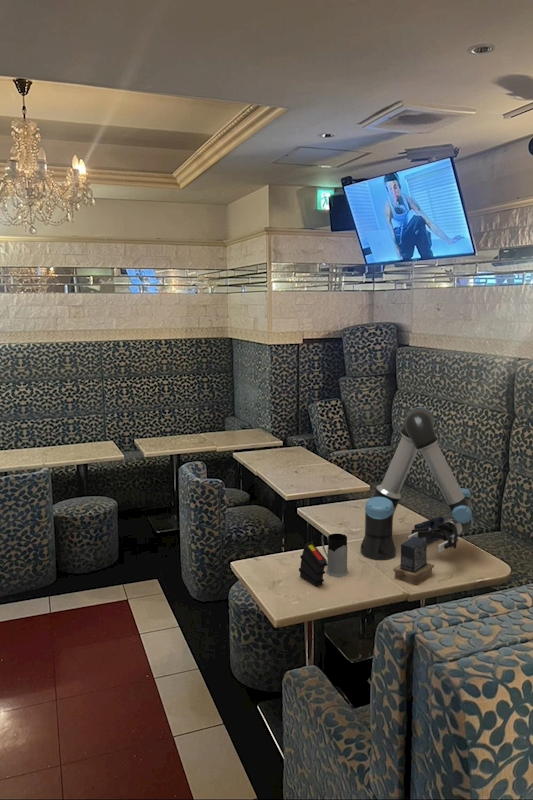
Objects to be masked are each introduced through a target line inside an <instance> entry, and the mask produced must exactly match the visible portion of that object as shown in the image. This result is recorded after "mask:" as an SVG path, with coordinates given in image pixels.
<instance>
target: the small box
mask: <svg viewBox="0 0 533 800" xmlns="http://www.w3.org/2000/svg"><path fill="white" fill-rule="evenodd" d="M427 546H428V544H427V540H426V539H422V538H418V537H412V538H410V539H409V540H408V539H407V540H405V541H404V542H402V543H401V544H400V564H401V566H400V569H403V570H406V571H409V572H413V573H415V572H416V571H418V570H419V569H421V568H422V567H423V566H425V565H426V564H427V563H428V562H427V555H428V553H427V549H428V547H427Z"/></svg>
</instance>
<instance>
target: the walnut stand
mask: <svg viewBox="0 0 533 800" xmlns="http://www.w3.org/2000/svg"><path fill="white" fill-rule="evenodd" d="M426 563H427V564H426V565H425V566H423V567H422V568H421V569H419V570H418V571H416V572H415V573H413V572H409V571H406V570H403V569H400V566H401V563H399V565H397V566H395V567H393V568H392V569H393V570H392V571H393V572H394V579H396V580H399V581H403V582H404V581H405V583H408V584H411V585H412V586H416V585H418V584H419V583H421V582H422V581H424V580H426V579H427V578H428V577H430V576H432V575H433V568H435V564H432V563H430V562H426Z"/></svg>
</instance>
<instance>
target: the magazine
mask: <svg viewBox="0 0 533 800" xmlns="http://www.w3.org/2000/svg"><path fill="white" fill-rule="evenodd" d="M302 548H303V551H302V554H301V555H300V557H299V558H300V559H301V560H300V568H298V572H300V574H299V577H300V578H301V579H303V580H304V581H306V582H308V583H309V584H310V585H313V586H314V587H316V588H317V587H321V586H323V583H324V582H325V579H324V574H326V572H325V568H326V567H327V565H328V564H327V562H328V560H327V559H326V558H325V556H324V555H323V554H322V553H321V552H320V551H319V549H318V548H317V546H315V544H314V542H311V541H310V542H307V543H305V544H304V545H303V547H302Z"/></svg>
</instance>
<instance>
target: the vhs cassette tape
mask: <svg viewBox="0 0 533 800" xmlns="http://www.w3.org/2000/svg"><path fill="white" fill-rule="evenodd" d="M444 522H445V517H443V516H438V517H434V518H433V519H432V518H431V519H428V520H426V521H423V522H421V523H416V524H414V527H413V528H414V529H420V528H427V527H431V529H437V528H438V526H439V525H440V524H442V523H444ZM433 536H434V534H433ZM421 538H422V539H426V540H427V545H429V543H430V544H432V543H435V542H438V541H440V540H439V538H431V537H421ZM434 541H435V542H434Z"/></svg>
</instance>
